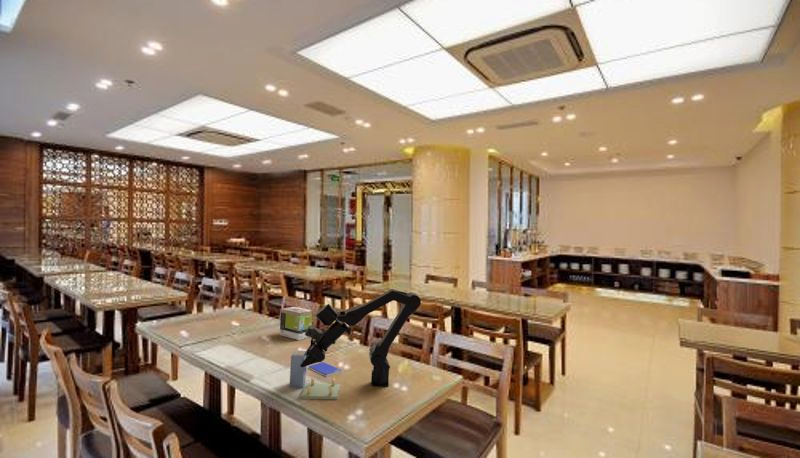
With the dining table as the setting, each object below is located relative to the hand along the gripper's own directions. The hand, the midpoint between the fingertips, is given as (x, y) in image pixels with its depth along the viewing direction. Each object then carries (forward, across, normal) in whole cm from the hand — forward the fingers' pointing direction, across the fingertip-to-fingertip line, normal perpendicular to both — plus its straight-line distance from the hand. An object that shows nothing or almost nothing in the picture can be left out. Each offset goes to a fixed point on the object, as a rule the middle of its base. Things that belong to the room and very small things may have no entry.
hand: (301, 362), depth 151 cm
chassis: (0, +7, +12) cm, 14 cm away
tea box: (+12, -65, +1) cm, 66 cm away
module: (+7, 0, +5) cm, 9 cm away
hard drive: (0, -15, +13) cm, 20 cm away
